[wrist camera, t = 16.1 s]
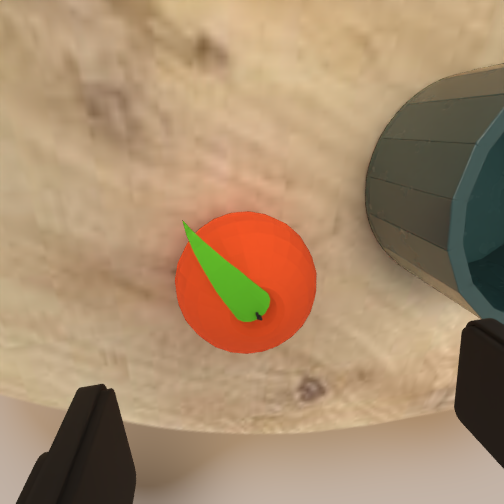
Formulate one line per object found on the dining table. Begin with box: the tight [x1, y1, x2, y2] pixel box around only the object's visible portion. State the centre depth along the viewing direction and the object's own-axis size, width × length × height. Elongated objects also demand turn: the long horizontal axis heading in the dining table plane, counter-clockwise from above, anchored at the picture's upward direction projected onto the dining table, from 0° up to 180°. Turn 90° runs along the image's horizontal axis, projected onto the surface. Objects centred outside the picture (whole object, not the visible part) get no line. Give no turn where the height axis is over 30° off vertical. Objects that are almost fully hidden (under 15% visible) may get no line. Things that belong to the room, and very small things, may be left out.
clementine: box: [175, 211, 316, 354], centre depth 18 cm, size 8×7×7 cm
